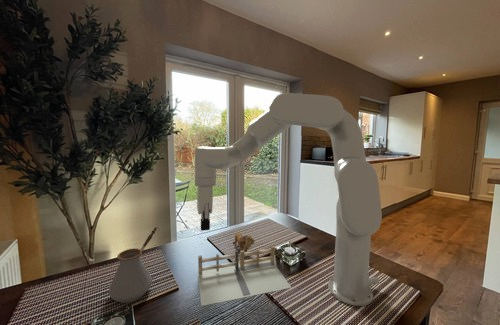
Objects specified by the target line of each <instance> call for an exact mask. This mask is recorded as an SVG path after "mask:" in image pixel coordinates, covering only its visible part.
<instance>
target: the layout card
mask: <svg viewBox="0 0 500 325" xmlns="http://www.w3.org/2000/svg"><path fill="white" fill-rule="evenodd" d="M256 265H257V262H256V263H249V264H244V269H242V270H241V268H240V262H239V268H238V269H235V266H231V267H224V268H219V271H217V269H212V270H206V271H202V275H199V272H198V271H197V276H198V277H197V278H198V288H199V298H200V306H201V307H203V306H209V305H213V304H217V303H218V304H219V303H223V302H228V301H229V302H230V301H232V300H237V299H242V298H248V297H253V296H257V295H263V294H267V293H272V292H276V291H277V292H278V291H282V290H287V289H291V288H292V286H291V285H290V283H289V281H287V279H286V278H285V277H284V275H283V274H282V272H281V270H280V269H279V268H278V267H277V265H276V263H275V264H271V263H270V260H268V261H262V262H259V266H256Z"/></svg>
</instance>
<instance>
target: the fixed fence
mask: <svg viewBox="0 0 500 325" xmlns="http://www.w3.org/2000/svg"><path fill="white" fill-rule="evenodd" d="M263 254H270V255H269V256H263V257H260V255H263ZM275 254H276V247H275V245H272V246H270V248H266V249H256V250H253V251H247V252H245V250H244V249H243V250H242V251H240V250H239V263H240V268H241V270H242V269H244V264H249V263H256V262H257V265H256V266H259V262H262V261H268V260H270V263H271V264H275V265H276V263H275V261H276V255H275ZM255 255H256V258H252V259H251V258H250V259H245V257H249V256H255Z"/></svg>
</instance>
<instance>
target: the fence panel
mask: <svg viewBox="0 0 500 325" xmlns="http://www.w3.org/2000/svg"><path fill="white" fill-rule="evenodd" d="M197 259H198V260H197V261H198V265H197V266H198V269H197V273H198V272H199V275H202V271H206V270H212V269H217V271H219V268H224V267H231V266H235V269H238V268H239V263H240V250H236V249H235V251H234V253H233V254H225V255H220V254H219V253H216V256H211V257H204V258H203V255H198V256H197ZM228 259H234V261H232V262H225V263H219V262H220V261H222V260H228ZM210 262H215V264H212V265H205V266H203V263H210Z"/></svg>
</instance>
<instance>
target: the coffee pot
mask: <svg viewBox="0 0 500 325" xmlns="http://www.w3.org/2000/svg"><path fill="white" fill-rule="evenodd" d="M157 229H158V232H160V231H161V230H160V228H159V227H157V226H155V227H154V228H153V230H152V231H151V232H150V234H149V235H148V236H147V238H146V239H145V241H144V243H143V244H142V247H141V248H135V247H134V248H128V249H125V250H123V251H121V252H119V253H118V254H117V256H116V258H117V259H118V260H119V264H118V267H117V270H116V272H115V274H114V276H113V278H112V281H111V284H110V286H109V289H108V294H109V295H108V296H109V297H110V298H111V299H112V300H113V301H115V302H118V303H122V304H128V303H133V302H135V301H137V300H139V299H140V298H143V296H144V295H145V294H146V293H147V292H148V291H149V290H150V288H151V286H152V282H153V279H152V276H151V274H150V273H149V270H148V269H147V267H146V266H145V264H144V263H143V261H142V259H141V256H142V253H143V251H144V250H145V248H146V247H147V245H148V244H149V242H150V241H151V239H152V238H153V236H154V235H155V234H156V232H157Z"/></svg>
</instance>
